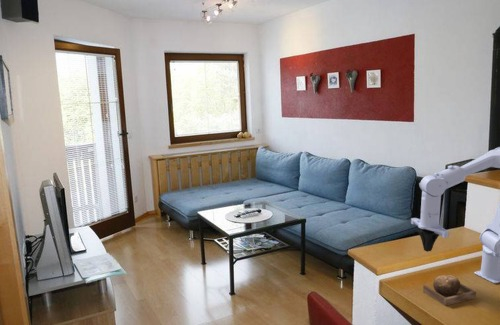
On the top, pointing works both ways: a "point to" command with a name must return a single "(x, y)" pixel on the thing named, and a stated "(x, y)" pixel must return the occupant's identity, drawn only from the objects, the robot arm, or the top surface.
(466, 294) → the walnut frame
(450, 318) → the top surface
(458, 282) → the mushroom
